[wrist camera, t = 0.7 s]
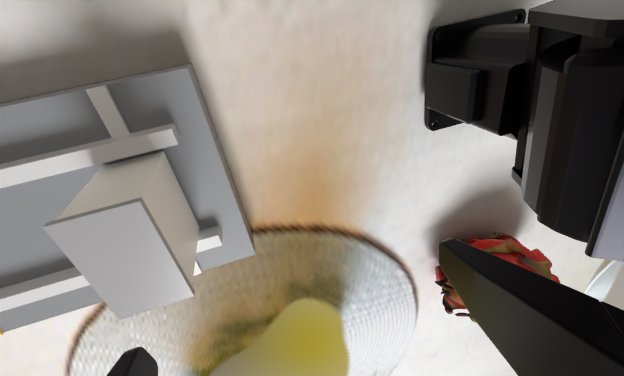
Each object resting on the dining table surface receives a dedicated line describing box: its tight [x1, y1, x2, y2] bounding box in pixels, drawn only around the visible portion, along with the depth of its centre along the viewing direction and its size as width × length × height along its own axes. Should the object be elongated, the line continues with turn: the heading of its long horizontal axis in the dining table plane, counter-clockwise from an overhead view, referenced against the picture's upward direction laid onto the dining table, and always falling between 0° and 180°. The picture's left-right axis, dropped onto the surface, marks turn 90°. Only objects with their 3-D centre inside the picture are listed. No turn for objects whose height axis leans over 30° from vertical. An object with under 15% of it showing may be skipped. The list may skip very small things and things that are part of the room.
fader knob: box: [43, 151, 199, 320], centre depth 14 cm, size 3×5×5 cm, turn 10°
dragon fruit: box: [435, 232, 560, 322], centre depth 26 cm, size 8×8×12 cm
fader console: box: [0, 63, 255, 336], centre depth 16 cm, size 22×12×3 cm, turn 100°
